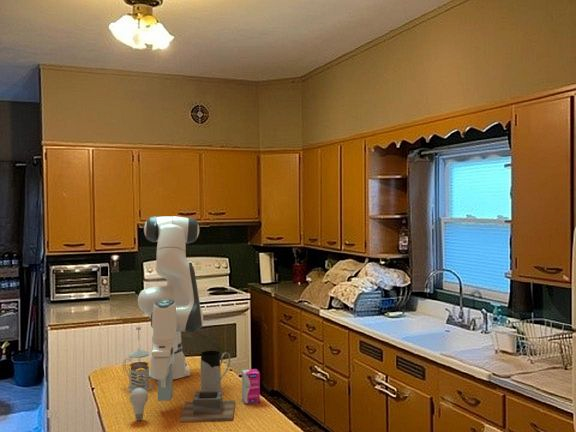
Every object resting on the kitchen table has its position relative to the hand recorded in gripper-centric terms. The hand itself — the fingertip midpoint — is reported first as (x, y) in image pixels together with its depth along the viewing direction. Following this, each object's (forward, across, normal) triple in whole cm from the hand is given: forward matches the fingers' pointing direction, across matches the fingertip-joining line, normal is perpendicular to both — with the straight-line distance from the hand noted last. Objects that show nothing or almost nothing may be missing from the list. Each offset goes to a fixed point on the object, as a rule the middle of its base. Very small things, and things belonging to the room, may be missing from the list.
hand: (165, 384), depth 208 cm
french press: (+10, -27, -16) cm, 33 cm away
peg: (+5, 0, 0) cm, 5 cm away
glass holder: (+10, -24, +16) cm, 30 cm away
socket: (+9, +2, +15) cm, 18 cm away
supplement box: (+10, -8, +30) cm, 33 cm away
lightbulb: (+10, +8, -8) cm, 15 cm away
